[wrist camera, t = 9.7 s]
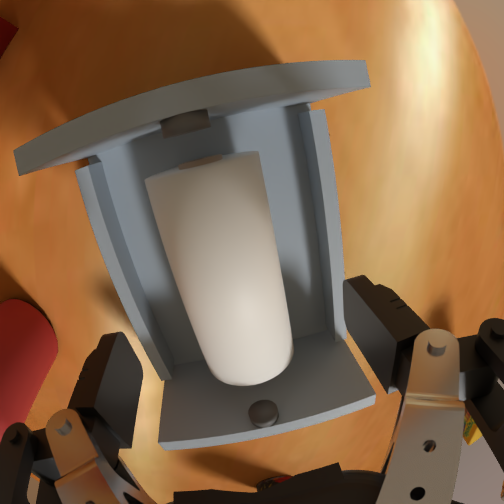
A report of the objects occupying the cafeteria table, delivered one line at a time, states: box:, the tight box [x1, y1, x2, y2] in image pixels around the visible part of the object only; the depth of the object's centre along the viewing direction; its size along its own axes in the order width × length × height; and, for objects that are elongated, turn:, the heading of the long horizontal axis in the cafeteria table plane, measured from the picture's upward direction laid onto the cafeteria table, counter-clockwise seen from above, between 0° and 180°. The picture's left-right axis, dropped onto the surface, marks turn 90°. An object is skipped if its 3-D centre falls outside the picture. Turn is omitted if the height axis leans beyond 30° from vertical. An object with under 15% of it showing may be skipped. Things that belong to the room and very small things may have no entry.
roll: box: [144, 151, 294, 386], centre depth 15 cm, size 11×5×5 cm, turn 11°
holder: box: [13, 60, 376, 450], centre depth 15 cm, size 17×13×8 cm
